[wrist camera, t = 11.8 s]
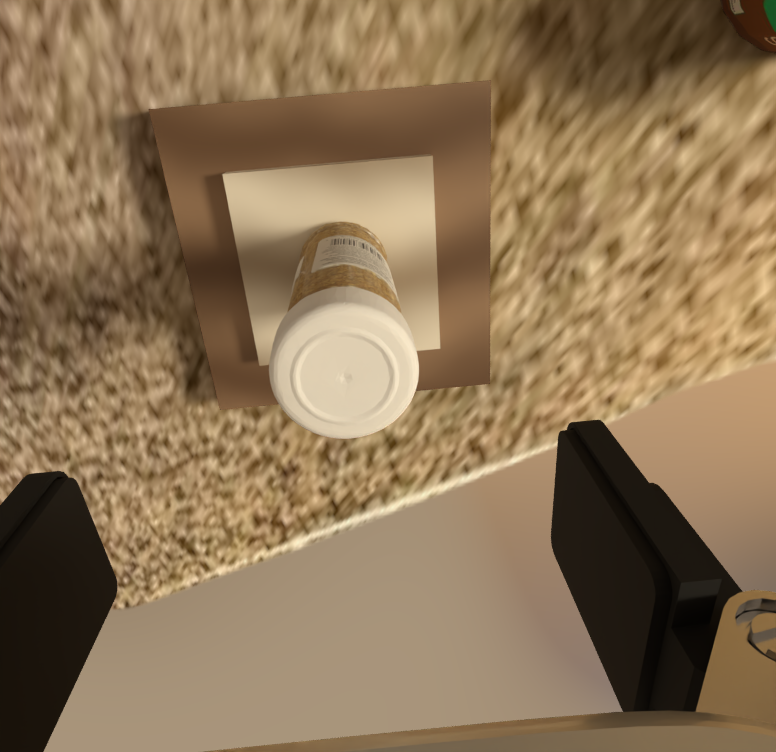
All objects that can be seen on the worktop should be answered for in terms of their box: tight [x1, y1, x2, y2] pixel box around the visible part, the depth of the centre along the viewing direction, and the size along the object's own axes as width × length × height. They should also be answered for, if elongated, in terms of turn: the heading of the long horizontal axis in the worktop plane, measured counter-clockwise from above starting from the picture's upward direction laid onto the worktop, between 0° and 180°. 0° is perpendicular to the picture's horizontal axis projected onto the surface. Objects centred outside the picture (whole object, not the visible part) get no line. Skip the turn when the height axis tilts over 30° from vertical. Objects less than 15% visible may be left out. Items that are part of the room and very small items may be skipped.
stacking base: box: [149, 80, 491, 410], centre depth 30 cm, size 16×16×3 cm
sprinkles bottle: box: [269, 222, 419, 439], centre depth 23 cm, size 5×5×14 cm
